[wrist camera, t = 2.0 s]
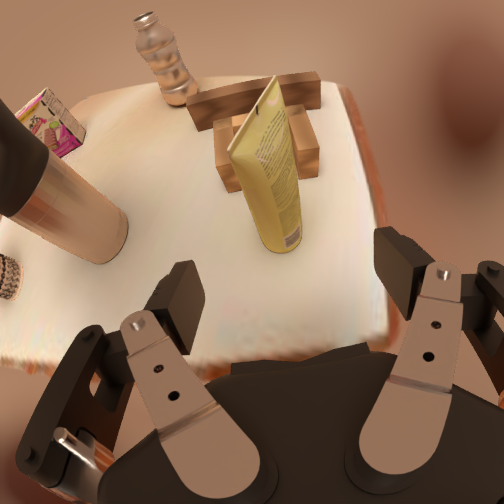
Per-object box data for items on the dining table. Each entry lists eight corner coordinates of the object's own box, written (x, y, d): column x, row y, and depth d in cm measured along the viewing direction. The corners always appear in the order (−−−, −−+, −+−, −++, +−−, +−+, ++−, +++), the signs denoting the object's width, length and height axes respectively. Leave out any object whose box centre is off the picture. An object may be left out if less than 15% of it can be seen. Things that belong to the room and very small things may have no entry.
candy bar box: (50, 165, 48) (7, 127, 32) (54, 151, 49) (15, 113, 34) (83, 145, 47) (39, 98, 31) (87, 130, 48) (47, 85, 33)
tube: (253, 219, 34) (204, 95, 15) (291, 205, 33) (276, 72, 15) (269, 260, 32) (226, 151, 13) (309, 245, 31) (315, 121, 13)
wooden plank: (198, 131, 40) (185, 105, 35) (198, 121, 41) (186, 96, 36) (320, 108, 38) (320, 79, 32) (316, 99, 39) (315, 71, 33)
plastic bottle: (194, 108, 43) (152, 18, 24) (163, 112, 44) (116, 31, 26) (204, 87, 45) (170, 3, 26) (174, 91, 46) (135, 14, 27)
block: (228, 192, 36) (215, 166, 30) (224, 148, 38) (213, 121, 33) (317, 176, 34) (319, 147, 28) (304, 133, 37) (302, 104, 31)
